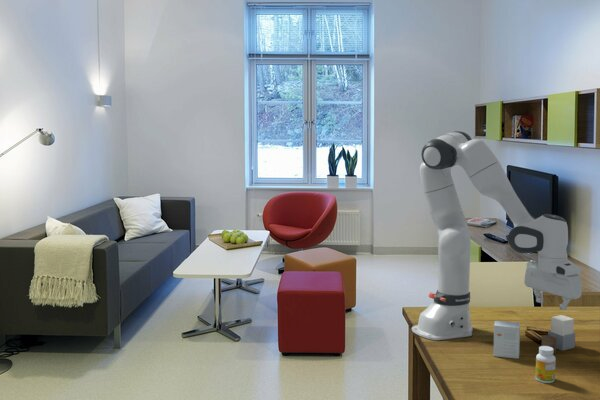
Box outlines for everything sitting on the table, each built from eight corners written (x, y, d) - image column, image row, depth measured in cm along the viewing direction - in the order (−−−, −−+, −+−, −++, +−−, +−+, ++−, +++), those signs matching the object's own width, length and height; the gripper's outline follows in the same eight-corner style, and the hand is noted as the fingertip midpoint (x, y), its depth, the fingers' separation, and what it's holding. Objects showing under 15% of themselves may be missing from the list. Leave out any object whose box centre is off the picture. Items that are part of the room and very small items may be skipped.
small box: (519, 353, 209) (520, 322, 207) (519, 359, 204) (520, 327, 202) (493, 350, 211) (494, 319, 210) (493, 356, 206) (494, 325, 205)
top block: (563, 335, 211) (563, 321, 210) (550, 331, 215) (551, 317, 214) (573, 333, 213) (574, 318, 212) (560, 328, 217) (561, 314, 217)
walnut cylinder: (549, 355, 207) (549, 340, 206) (538, 351, 211) (538, 336, 210) (558, 352, 209) (559, 338, 208) (547, 348, 213) (548, 334, 212)
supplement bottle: (532, 376, 190) (533, 345, 189) (549, 375, 191) (550, 344, 189) (540, 383, 185) (541, 351, 184) (558, 383, 185) (559, 351, 184)
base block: (562, 350, 211) (563, 336, 210) (547, 345, 216) (548, 331, 215) (574, 347, 214) (575, 333, 213) (559, 342, 219) (560, 328, 218)
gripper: (520, 259, 213) (519, 299, 215) (572, 272, 195) (570, 315, 197) (533, 257, 216) (532, 296, 218) (585, 269, 198) (584, 312, 200)
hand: (551, 305), depth 208 cm, fingers open, 8 cm apart
